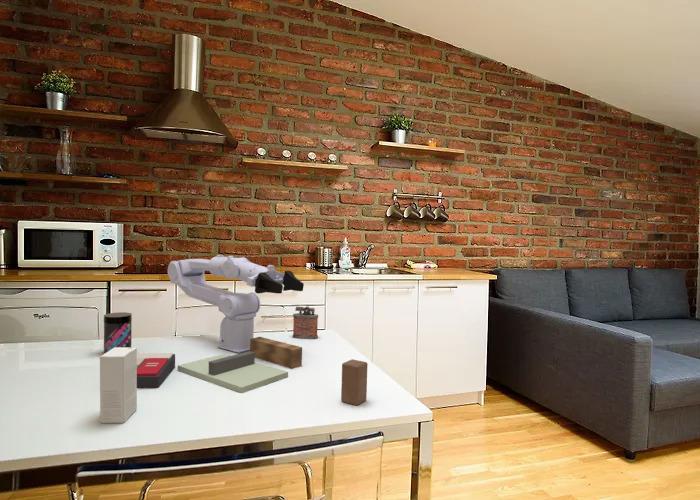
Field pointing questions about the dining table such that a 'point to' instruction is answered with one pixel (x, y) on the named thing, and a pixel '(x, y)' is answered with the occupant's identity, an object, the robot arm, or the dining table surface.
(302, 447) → the dining table surface
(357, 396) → the wooden block
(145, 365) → the red and black box
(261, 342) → the walnut batten
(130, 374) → the skincare box
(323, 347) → the dining table surface
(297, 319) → the lighter
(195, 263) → the robot arm
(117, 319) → the supplement container
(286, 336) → the dining table surface
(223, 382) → the stand
